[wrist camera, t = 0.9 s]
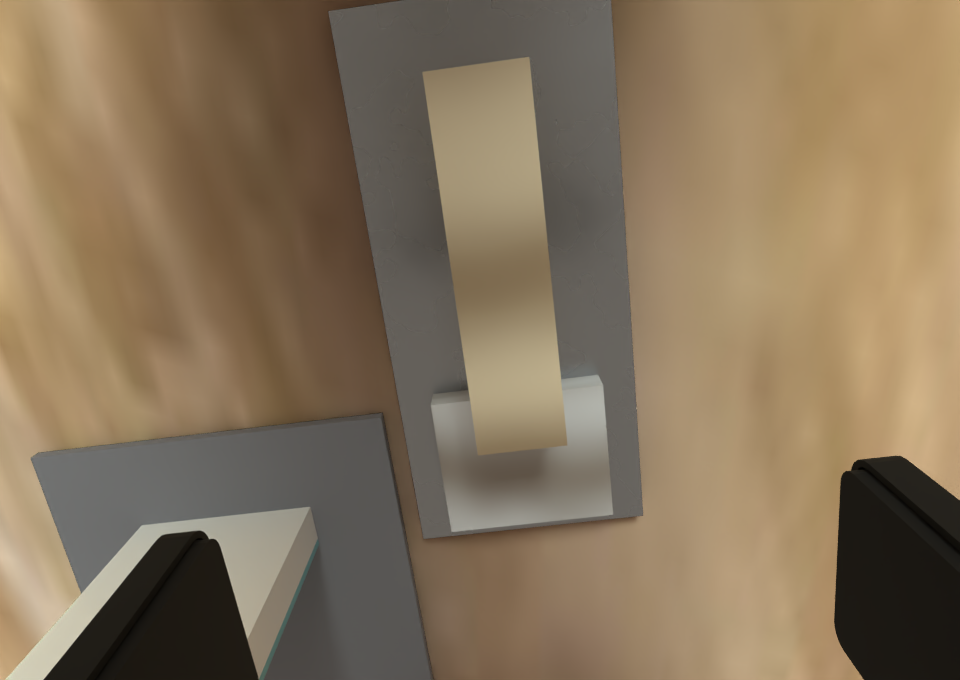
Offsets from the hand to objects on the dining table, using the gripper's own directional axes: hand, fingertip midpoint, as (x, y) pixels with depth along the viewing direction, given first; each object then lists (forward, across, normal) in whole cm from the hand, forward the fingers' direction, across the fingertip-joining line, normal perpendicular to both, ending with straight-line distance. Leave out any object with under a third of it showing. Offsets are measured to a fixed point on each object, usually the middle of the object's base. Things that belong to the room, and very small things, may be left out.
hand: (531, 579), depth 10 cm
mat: (+18, +14, +14) cm, 27 cm away
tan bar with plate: (+17, 0, 0) cm, 17 cm away
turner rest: (+18, 0, 0) cm, 18 cm away
